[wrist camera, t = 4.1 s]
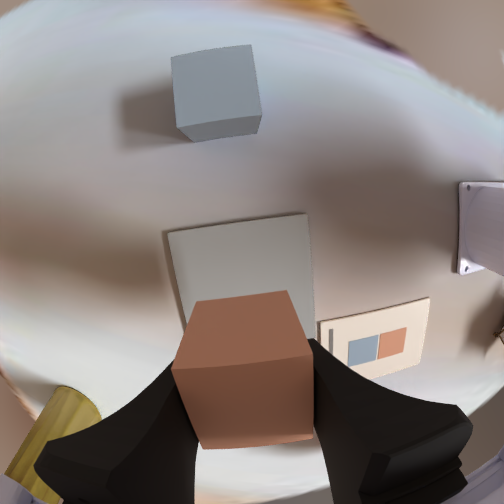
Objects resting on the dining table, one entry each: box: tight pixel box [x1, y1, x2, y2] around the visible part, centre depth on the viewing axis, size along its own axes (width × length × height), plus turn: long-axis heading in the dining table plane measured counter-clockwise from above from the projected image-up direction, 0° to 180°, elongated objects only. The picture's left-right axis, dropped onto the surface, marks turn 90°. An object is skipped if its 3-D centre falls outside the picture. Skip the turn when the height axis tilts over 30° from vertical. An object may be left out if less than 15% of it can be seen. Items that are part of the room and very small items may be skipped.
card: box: [320, 297, 430, 380], centre depth 20 cm, size 10×7×1 cm
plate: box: [167, 213, 316, 339], centre depth 19 cm, size 9×9×1 cm
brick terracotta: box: [171, 290, 314, 449], centre depth 10 cm, size 4×4×5 cm
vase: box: [4, 387, 102, 504], centre depth 15 cm, size 6×6×14 cm
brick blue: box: [171, 45, 262, 143], centre depth 14 cm, size 4×4×5 cm
